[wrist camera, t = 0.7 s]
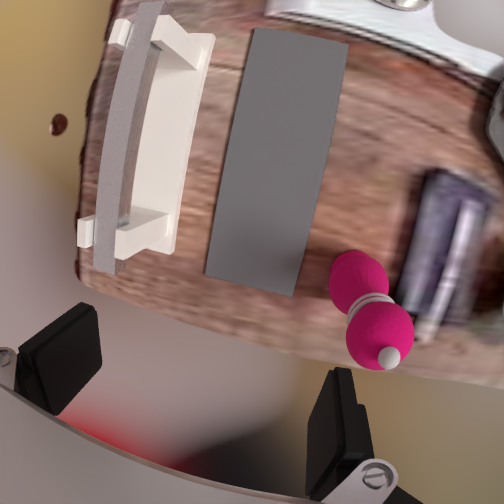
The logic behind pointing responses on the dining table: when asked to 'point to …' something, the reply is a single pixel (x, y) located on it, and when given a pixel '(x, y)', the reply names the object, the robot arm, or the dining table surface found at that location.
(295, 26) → the dining table surface
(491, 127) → the serving board
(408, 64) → the dining table surface
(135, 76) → the rail
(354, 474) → the robot arm
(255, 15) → the dining table surface
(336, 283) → the pepper mill
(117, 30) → the rail stand
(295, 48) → the mat
